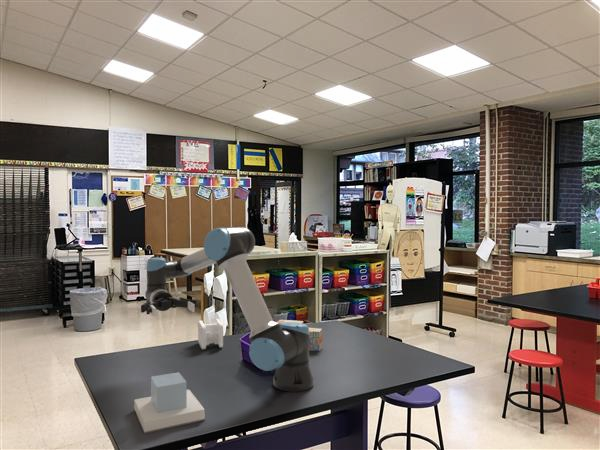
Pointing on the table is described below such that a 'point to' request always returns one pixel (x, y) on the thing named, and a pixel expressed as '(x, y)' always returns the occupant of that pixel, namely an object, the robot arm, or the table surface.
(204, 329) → the cable organizer
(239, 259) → the robot arm
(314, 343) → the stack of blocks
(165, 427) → the socket
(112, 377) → the table surface
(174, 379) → the grey-blue block
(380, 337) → the table surface
